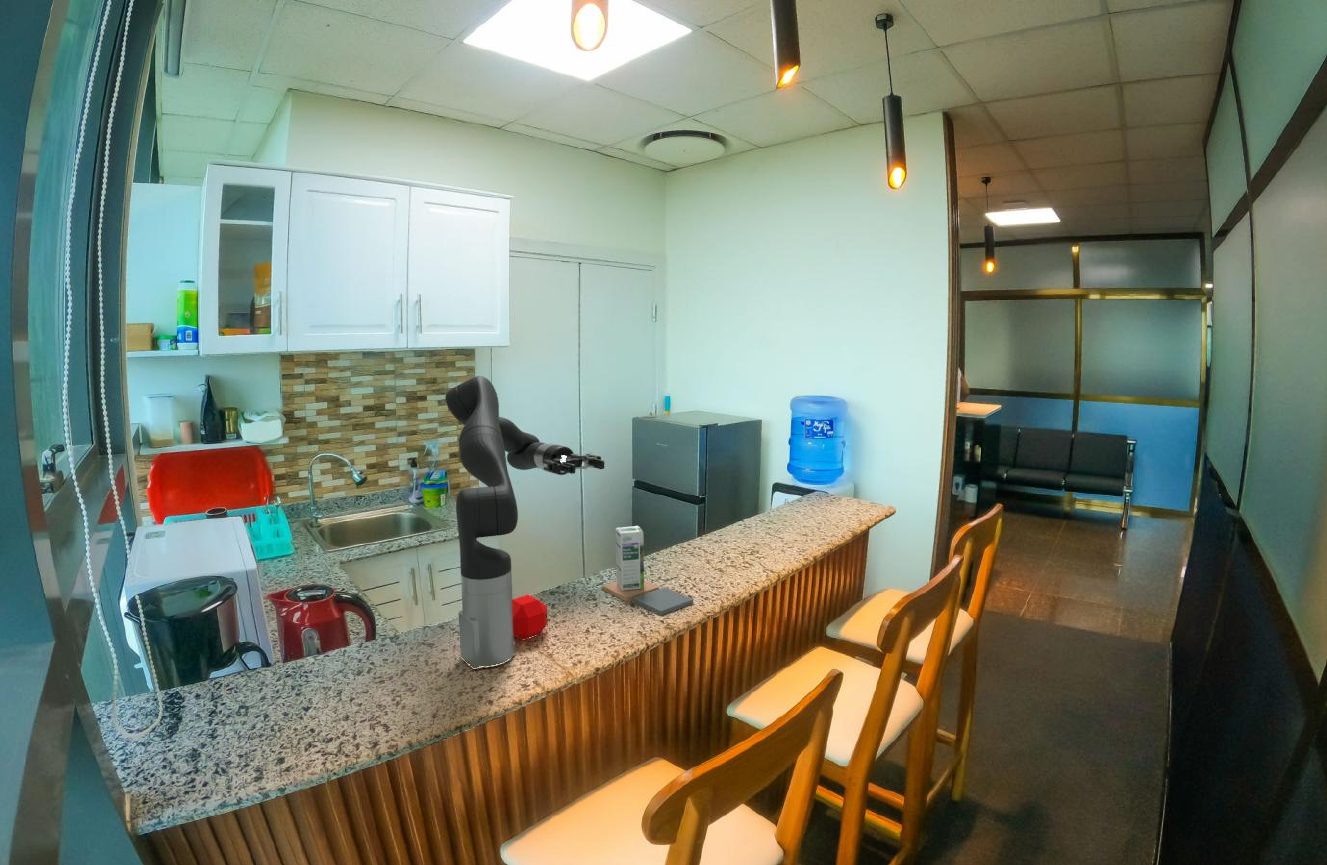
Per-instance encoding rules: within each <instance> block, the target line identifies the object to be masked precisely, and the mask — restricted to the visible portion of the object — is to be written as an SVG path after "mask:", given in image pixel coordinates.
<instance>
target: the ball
mask: <svg viewBox="0 0 1327 865" xmlns="http://www.w3.org/2000/svg"><path fill="white" fill-rule="evenodd" d="M512 600H513V627H514V637H516V636H517V637H516V638H518V639H520V640H521V639H527V638H529V637H532V636H535V635H537V636H539V635H538V634H540V635H541V633H542V632H543V631H544V630H545V629H546V627H547V624H548V621H549V620H548V619H547V618H548V606H547V605H546V604H545V603H544V602H542V601H540V600H539V599H538V598H536V597H534V596H532V595H530V594H525V595H522V596H518V597H515V598H512ZM535 637H536V636H535ZM532 638H533V637H532ZM529 639H530V638H529ZM527 640H528V639H527Z"/></svg>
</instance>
